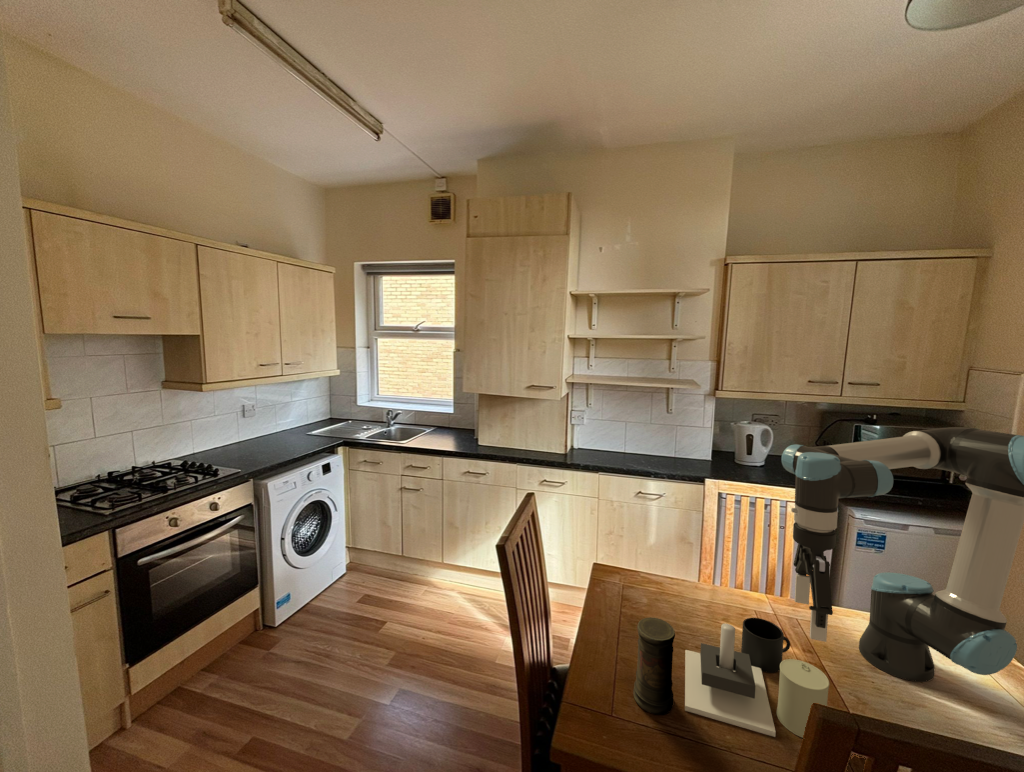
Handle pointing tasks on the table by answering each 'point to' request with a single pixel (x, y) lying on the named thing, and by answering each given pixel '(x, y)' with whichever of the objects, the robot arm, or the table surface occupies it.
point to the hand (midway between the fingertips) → (809, 619)
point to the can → (799, 693)
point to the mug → (763, 644)
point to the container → (654, 666)
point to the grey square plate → (727, 672)
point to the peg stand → (723, 702)
